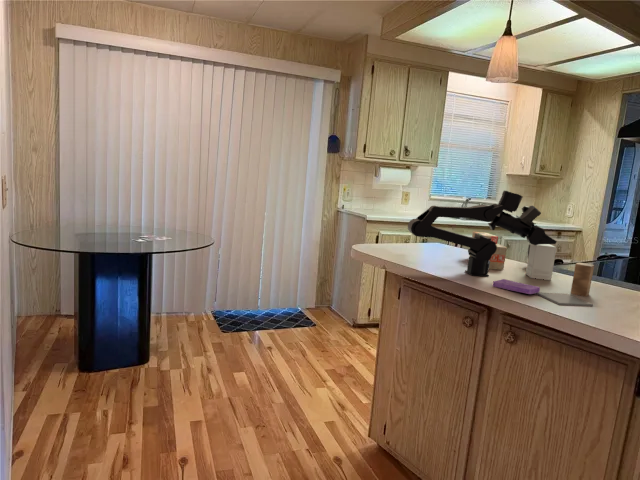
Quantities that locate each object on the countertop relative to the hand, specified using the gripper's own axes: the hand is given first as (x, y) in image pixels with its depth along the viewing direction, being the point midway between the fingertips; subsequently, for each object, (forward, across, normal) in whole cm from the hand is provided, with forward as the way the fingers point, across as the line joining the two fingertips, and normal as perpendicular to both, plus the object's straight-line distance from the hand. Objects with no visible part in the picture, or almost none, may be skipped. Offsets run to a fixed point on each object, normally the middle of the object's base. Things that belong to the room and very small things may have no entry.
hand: (551, 239), depth 159 cm
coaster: (+1, -28, +13) cm, 31 cm away
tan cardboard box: (-10, +21, +22) cm, 32 cm away
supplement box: (+4, +4, +16) cm, 17 cm away
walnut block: (+10, -17, +12) cm, 22 cm away
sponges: (-11, -22, +17) cm, 30 cm away
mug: (+8, +22, +16) cm, 29 cm away
